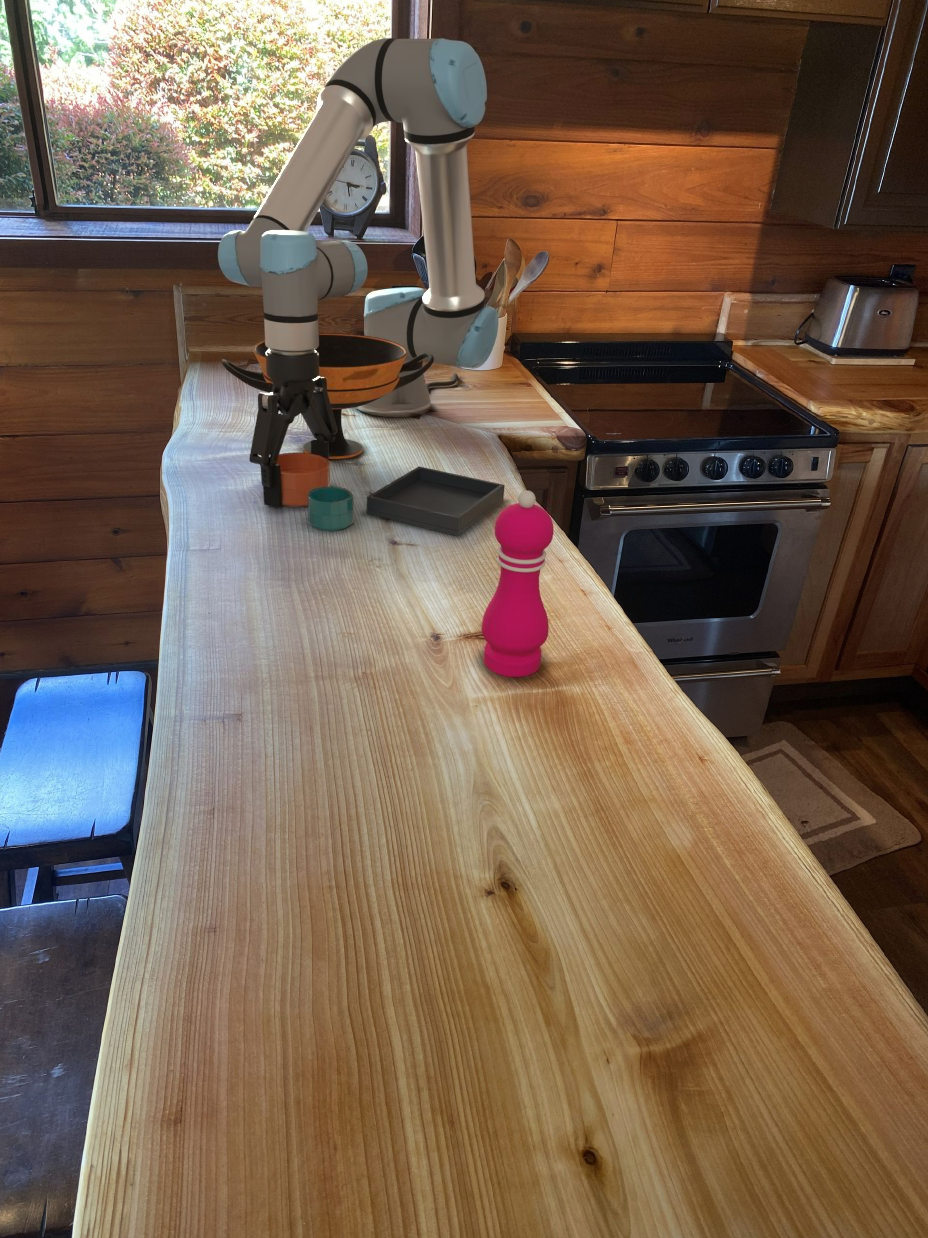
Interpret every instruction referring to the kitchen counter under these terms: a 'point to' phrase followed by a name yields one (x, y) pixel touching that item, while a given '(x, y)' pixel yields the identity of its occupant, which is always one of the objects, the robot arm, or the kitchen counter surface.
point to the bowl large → (302, 476)
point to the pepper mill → (518, 590)
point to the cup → (346, 376)
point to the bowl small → (330, 508)
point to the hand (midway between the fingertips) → (297, 493)
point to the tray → (436, 500)
